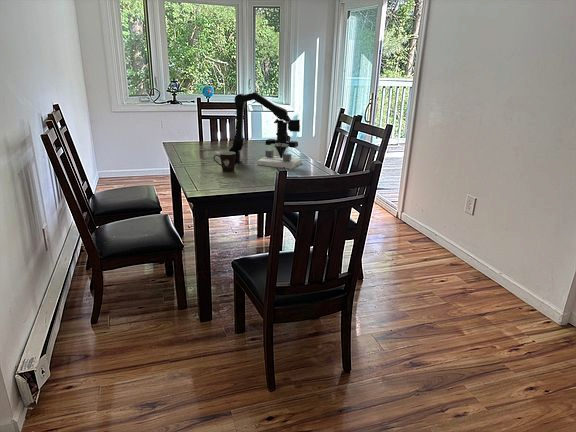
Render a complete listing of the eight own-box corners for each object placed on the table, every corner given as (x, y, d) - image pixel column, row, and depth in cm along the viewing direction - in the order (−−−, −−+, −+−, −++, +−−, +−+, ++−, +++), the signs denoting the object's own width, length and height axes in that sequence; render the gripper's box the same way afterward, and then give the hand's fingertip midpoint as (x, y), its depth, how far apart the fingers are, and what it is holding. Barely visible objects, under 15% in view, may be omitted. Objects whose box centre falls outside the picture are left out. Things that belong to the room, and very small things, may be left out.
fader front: (289, 161, 251) (289, 155, 250) (282, 160, 253) (282, 154, 252) (291, 160, 254) (291, 154, 253) (284, 159, 256) (284, 153, 254)
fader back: (271, 157, 262) (271, 151, 260) (265, 156, 263) (265, 150, 262) (273, 156, 264) (273, 150, 263) (267, 155, 266) (267, 149, 264)
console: (291, 168, 246) (292, 164, 245) (257, 164, 254) (257, 160, 253) (301, 163, 260) (301, 158, 259) (268, 159, 268) (268, 155, 267)
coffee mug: (239, 170, 239) (238, 152, 236) (229, 173, 232) (229, 155, 229) (222, 167, 245) (222, 150, 241) (212, 170, 238) (212, 152, 234)
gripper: (301, 130, 253) (300, 156, 258) (272, 128, 259) (272, 153, 265) (295, 133, 243) (294, 160, 248) (265, 130, 250) (264, 157, 255)
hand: (281, 157), depth 254 cm, fingers closed
